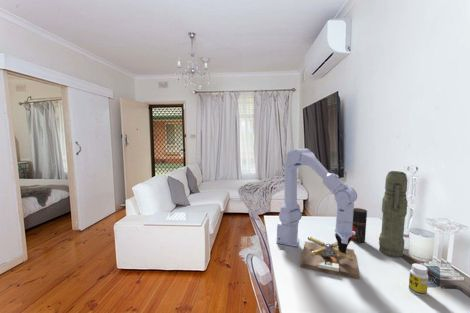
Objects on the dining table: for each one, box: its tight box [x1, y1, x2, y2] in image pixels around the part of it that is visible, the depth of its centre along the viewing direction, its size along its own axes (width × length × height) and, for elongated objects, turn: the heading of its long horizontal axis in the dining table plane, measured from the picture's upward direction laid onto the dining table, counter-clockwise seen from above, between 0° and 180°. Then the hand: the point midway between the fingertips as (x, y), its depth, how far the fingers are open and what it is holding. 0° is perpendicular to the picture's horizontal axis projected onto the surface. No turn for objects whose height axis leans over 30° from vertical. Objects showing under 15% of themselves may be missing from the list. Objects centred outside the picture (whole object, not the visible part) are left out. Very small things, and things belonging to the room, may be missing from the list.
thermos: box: [378, 170, 409, 258], centre depth 102 cm, size 9×12×35 cm
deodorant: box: [351, 207, 368, 244], centre depth 114 cm, size 6×6×15 cm
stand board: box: [299, 241, 360, 280], centre depth 97 cm, size 20×20×2 cm
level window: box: [318, 260, 339, 272], centre depth 88 cm, size 7×3×2 cm, turn 69°
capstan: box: [307, 235, 354, 264], centre depth 97 cm, size 21×21×4 cm
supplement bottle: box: [408, 263, 429, 297], centre depth 78 cm, size 5×5×8 cm
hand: (341, 253), depth 93 cm, fingers closed, pressing on capstan
